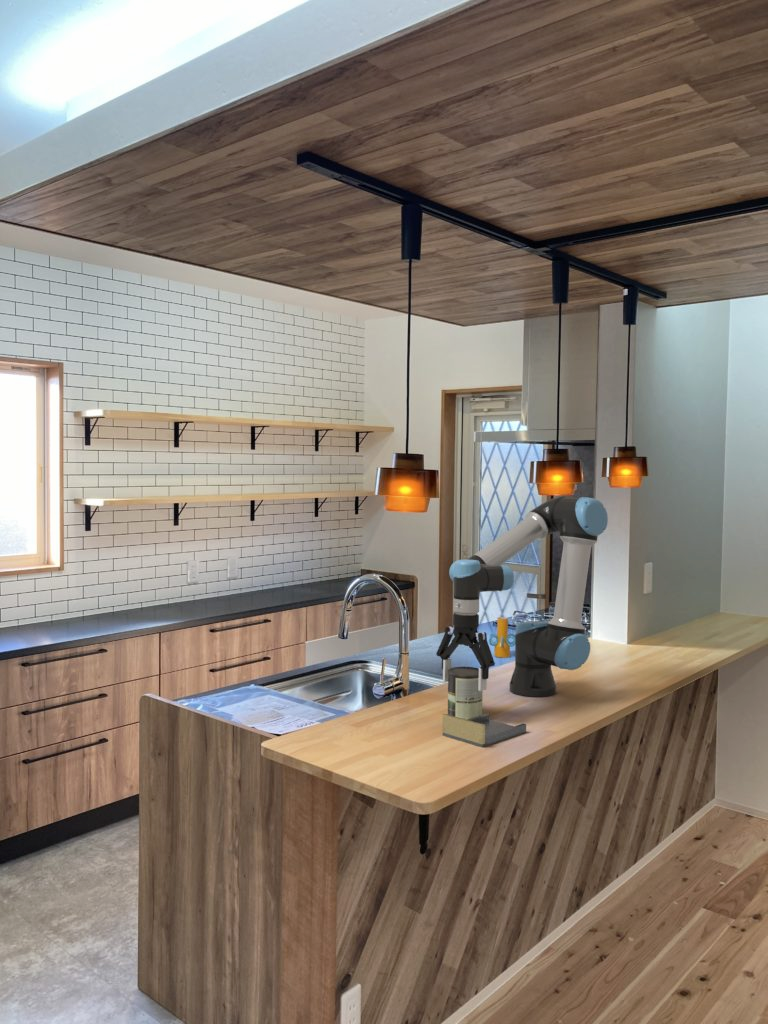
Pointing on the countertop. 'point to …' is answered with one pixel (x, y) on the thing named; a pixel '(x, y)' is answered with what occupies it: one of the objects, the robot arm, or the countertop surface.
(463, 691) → the coffee can
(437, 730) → the countertop surface
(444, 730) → the rail channel
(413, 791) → the countertop surface
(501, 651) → the orange column with rings
